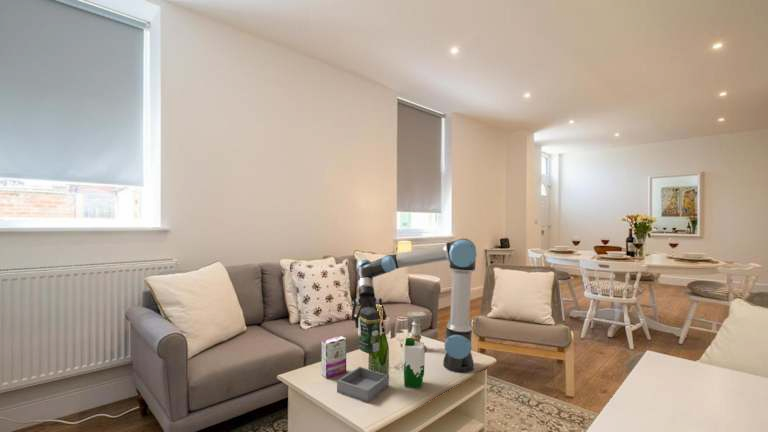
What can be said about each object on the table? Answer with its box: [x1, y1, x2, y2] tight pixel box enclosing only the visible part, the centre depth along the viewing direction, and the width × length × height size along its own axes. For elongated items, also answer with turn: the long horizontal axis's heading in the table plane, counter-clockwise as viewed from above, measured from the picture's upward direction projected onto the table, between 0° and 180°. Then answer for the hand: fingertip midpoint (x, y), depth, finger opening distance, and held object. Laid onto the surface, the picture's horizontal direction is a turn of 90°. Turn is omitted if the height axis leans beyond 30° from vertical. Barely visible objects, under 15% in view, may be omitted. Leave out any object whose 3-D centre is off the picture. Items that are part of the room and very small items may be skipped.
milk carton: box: [403, 337, 426, 390], centre depth 165 cm, size 9×9×20 cm
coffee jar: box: [357, 307, 381, 354], centre depth 165 cm, size 10×8×19 cm
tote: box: [336, 366, 390, 404], centre depth 160 cm, size 16×17×5 cm
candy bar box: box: [321, 335, 347, 379], centre depth 174 cm, size 11×5×16 cm, turn 129°
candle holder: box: [406, 310, 428, 352], centre depth 207 cm, size 12×12×20 cm
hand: (370, 334), depth 161 cm, fingers closed on coffee jar, 9 cm apart
